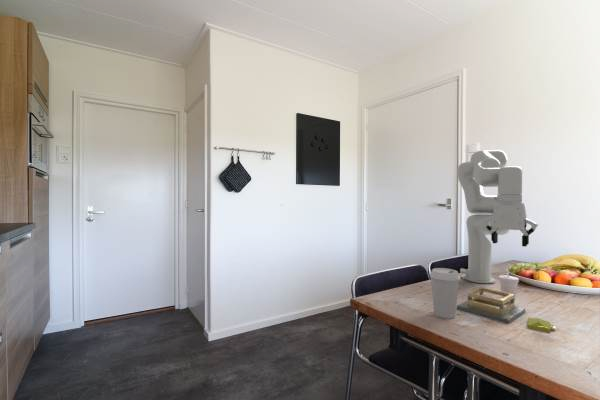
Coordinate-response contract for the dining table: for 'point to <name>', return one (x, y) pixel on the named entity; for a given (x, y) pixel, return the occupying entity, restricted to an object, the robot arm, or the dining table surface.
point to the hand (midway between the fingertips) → (509, 244)
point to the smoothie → (508, 283)
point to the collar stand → (492, 305)
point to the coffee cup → (444, 291)
